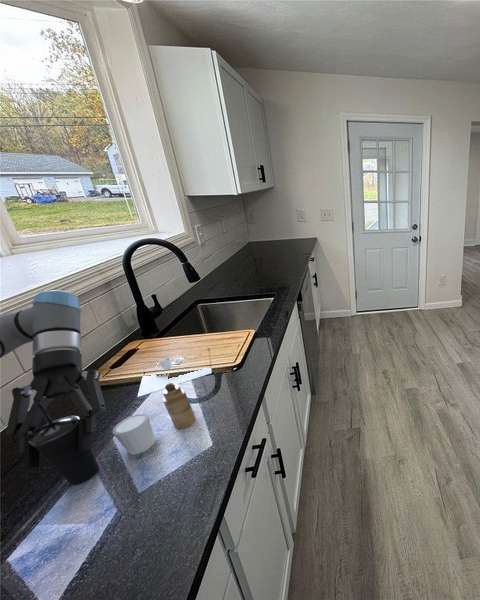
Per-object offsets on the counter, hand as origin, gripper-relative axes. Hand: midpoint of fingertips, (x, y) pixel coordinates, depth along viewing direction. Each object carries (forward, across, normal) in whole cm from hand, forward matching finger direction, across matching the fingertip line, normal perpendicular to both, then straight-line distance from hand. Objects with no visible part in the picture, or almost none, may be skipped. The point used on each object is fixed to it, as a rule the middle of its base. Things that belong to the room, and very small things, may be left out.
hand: (59, 459), depth 64 cm
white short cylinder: (+1, -10, -11) cm, 15 cm away
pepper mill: (-2, -18, -14) cm, 23 cm away
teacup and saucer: (-24, -12, -36) cm, 45 cm away
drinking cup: (+4, 0, -9) cm, 9 cm away
